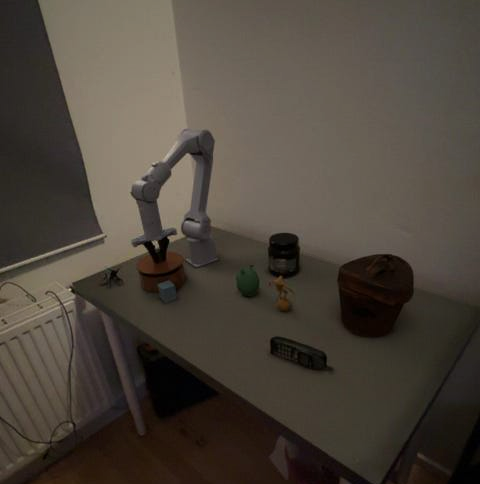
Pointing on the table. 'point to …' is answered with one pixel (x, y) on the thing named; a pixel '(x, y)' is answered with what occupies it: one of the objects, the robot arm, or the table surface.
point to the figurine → (283, 302)
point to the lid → (160, 263)
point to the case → (374, 293)
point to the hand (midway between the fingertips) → (159, 260)
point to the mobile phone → (299, 353)
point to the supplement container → (283, 254)
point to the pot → (162, 279)
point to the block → (167, 291)
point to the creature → (112, 276)
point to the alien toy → (247, 281)
